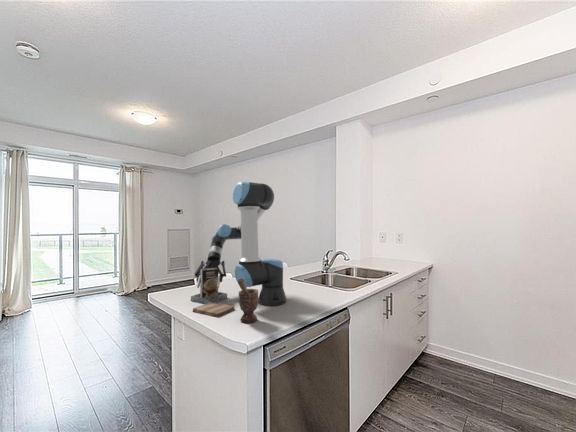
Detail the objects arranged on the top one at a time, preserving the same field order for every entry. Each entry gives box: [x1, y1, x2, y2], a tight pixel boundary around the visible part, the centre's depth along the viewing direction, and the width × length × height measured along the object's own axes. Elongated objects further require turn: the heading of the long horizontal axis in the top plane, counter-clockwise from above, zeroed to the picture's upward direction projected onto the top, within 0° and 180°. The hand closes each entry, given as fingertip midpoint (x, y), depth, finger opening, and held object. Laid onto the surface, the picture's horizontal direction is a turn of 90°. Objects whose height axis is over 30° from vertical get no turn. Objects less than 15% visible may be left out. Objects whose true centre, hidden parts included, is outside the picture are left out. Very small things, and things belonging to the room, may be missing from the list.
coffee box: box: [199, 268, 219, 299], centre depth 153 cm, size 9×6×16 cm
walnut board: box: [192, 302, 235, 318], centre depth 133 cm, size 16×12×2 cm
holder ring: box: [190, 291, 228, 305], centre depth 152 cm, size 14×14×2 cm
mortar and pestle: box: [237, 278, 259, 324], centre depth 119 cm, size 12×9×20 cm
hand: (208, 286), depth 150 cm, fingers closed on coffee box, 10 cm apart
